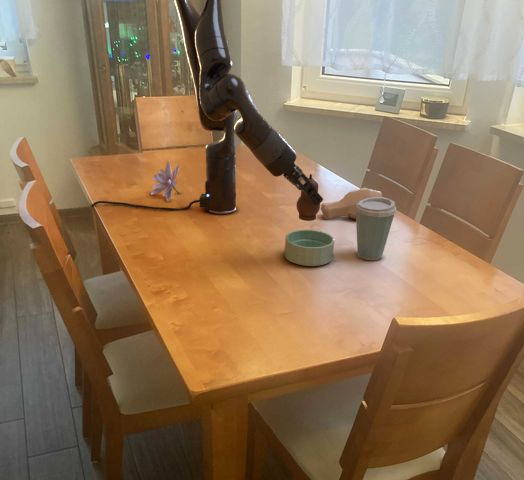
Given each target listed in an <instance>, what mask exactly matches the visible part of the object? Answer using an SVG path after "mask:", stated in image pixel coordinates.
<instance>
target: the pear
mask: <svg viewBox="0 0 524 480" xmlns="http://www.w3.org/2000/svg"><path fill="white" fill-rule="evenodd" d="M307 178H308V179H309V180H310V182H311V184H312V185H313V186H314V187H316V189H317V190H316V191H317V192H318V193H319V182H318V180H316V179H315V178H313V174H312V173H310V174H309V177H307ZM309 188H310V187H309ZM309 188H308V189H309ZM308 189H307V190H308ZM320 210H321V203H320V204H319V205H316V204H315V203H314V202H313V201H312V200H311V199H310V198H309V196H306V195H305V193H304V192H303V191H302V190H300V195H299V197H298V198H297V201H296V211H297V212H298V219H299V220H301V221H304V222H312V221H316V219H317V214H318V213H319V212H320Z"/></svg>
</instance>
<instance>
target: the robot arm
mask: <svg viewBox="0 0 524 480" xmlns="http://www.w3.org/2000/svg"><path fill="white" fill-rule="evenodd" d="M174 5H175V7H176V11H177V15H178V19H179V22H180V27H181V32H182V38H183V43H184V49H185V53H186V58H187V62H188V65H189V69H190V74H191V76H192V82H193V85H194V92H195V98H196V105H197V111H198V117H199V122H200V126H201V127H202V129H203V130H205V131H208V132H219V133H224V135H223V137H221V138H220V139H217V140H215V141H211V142H209V143H207V144H206V146H205V173H206V175H205V176H206V177H205V178H206V180H205V182H204V191H205V192H204V193H201V194H200V196H199V199H195V200H192V201H191V202H189V204H188V206H185V207H179V208H174V207H163V206H162V207H161V206H150V205H142V204H133V203H128V202H121V201H108V200H98V201H95V202H93V203H91V205H90V207H91V208H93V207H95V206H96V205H99V204H108V205H118V206H119V205H122V206H126V207H127V206H128V207H133V208H142V209H148V210H162V211H185V210H190V208H191V207H192V205H193V204H196V203H199V208H201V209H202V208H204V209H205V212H207V213H210V214H215V215H228V214H232V213H235V212H236V211H237V181H236V180H237V138H238V139H239V140H240V141H241V142H242V143H243V144H244V145H245V146H246V147H247V148H248V149H249V150H250V152H251V153H252V154H253V156H254V157H255V158H256V159H257V161H258V162H259V163H260V164H261V165H262V166H263V167H264V168H265V169H266V170H267V171H268V172H269V173H270V174H271V176H273V177H276V178H277V177H281V176H282V177H284V179H286V180H287V181H288V183H290V184H291V185H293V186H294V187H295V188H296V189H297V190H298V191H301V190H302V191H303V192H304V193H305V195H306V196H309V198H310V199H311V200H312V201H313V202H314V203H315V204H316V205H319V204H320V205H321V204H322V202H323V201H324V198H323V197H322V195H321V194H320V193H319V191H318V192H317V191H316V190H317V189H316V187H314V186H313V185H312V184H311V182H310V180H309V179H308V178H309V177H308V176H307V175H306V174H305V173H304V172H303V169H302V168H300V166H299V165H297V164H296V163H295V162H296V160H297V152H296V151H295V150H294V149H293V148H292V146H291V145H290V144H289V143H288V142H287V141H286V140H285V138H284V137H283V135H281V134H280V133H279V132H278V131H277V130H276V129H275V128H274V127H272V125H271V124H270V123H269V122H268V121H267V120H266V118H265V117H264V116H263V115H262V114H261V113H260V111H259V109H258V106H257V105H256V104H255V102H254V100H253V98H252V96H251V94H250V92H249V90H248V88H247V86H246V84H245V82H244V81H243V79H242V78H241V77H239V76H238V75H236V74H234V73H231V70H232V68H233V61H232V56H231V52H230V51H231V50H230V47H229V43H228V39H227V35H226V30H225V23H224V22H225V21H224V11H223V2H222V0H205V3H204V5H203V8H202V12H201V13H200V12H199V11H198V10H197V9H196V8H195V6H194V5H193V3H192V1H191V0H174ZM238 112H239V114H240V116H239V117H238ZM309 187H310V188H309ZM308 188H309V189H308ZM307 189H308V190H307Z"/></svg>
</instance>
